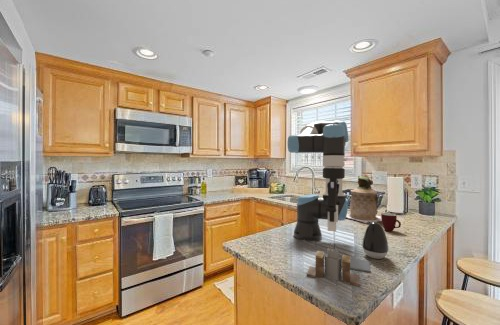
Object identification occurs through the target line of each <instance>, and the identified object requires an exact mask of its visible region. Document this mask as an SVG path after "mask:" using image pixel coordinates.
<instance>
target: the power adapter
mask: <svg viewBox="0 0 500 325" xmlns="http://www.w3.org/2000/svg"><path fill="white" fill-rule="evenodd" d="M329 245H330V246H329V248H328V247H327V249H326V251H327V253H326V254H324V276H325V277H328V278H330V279H333V280H334V281H340V280H342V268H341V258H340V257H341V256H340V255H339V250H337V248H336V243H335V244H334V248H332V243H331V242H330V243H329ZM339 256H340V257H339Z"/></svg>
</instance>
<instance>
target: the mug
mask: <svg viewBox="0 0 500 325" xmlns="http://www.w3.org/2000/svg"><path fill="white" fill-rule="evenodd" d="M380 216H381V219H382V221H381V223H382V224H381V226H382V227H383V229H384V231H386V232H393V231H394V229H398V228H400V227H402V224H401V221H400V220H399V219H397V214H395V213H391V212H389V213H388V212H381V214H380ZM397 223H398V226H396V224H397Z"/></svg>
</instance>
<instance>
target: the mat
mask: <svg viewBox="0 0 500 325" xmlns="http://www.w3.org/2000/svg"><path fill="white" fill-rule="evenodd" d="M339 257H340V258H341V269H342V256H340V255H339ZM350 270H352V271H353V270H354V271H357V272H358V271H359V272H364V273H371V272H372V270H371V265H370V260H365V259H358V258H352V257H350Z"/></svg>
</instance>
